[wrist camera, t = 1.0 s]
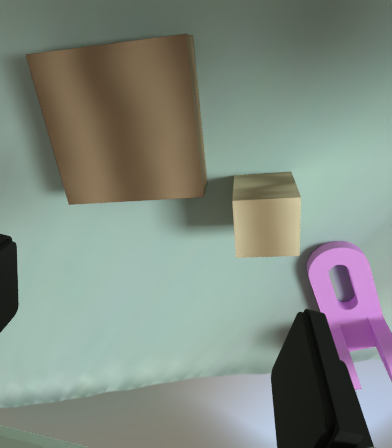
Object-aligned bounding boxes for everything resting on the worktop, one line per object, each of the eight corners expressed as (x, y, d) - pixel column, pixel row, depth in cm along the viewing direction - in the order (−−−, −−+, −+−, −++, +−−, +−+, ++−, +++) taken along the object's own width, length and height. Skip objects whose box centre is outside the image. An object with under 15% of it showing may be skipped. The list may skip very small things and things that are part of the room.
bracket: (385, 333, 38) (413, 389, 32) (332, 344, 39) (349, 400, 33) (358, 233, 33) (385, 275, 27) (299, 249, 34) (311, 294, 28)
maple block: (291, 171, 31) (300, 197, 26) (290, 222, 33) (299, 255, 28) (234, 175, 32) (232, 200, 26) (237, 224, 34) (236, 257, 29)
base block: (193, 35, 27) (186, 33, 24) (207, 180, 33) (203, 197, 29) (52, 53, 29) (25, 54, 26) (86, 188, 35) (68, 204, 31)
